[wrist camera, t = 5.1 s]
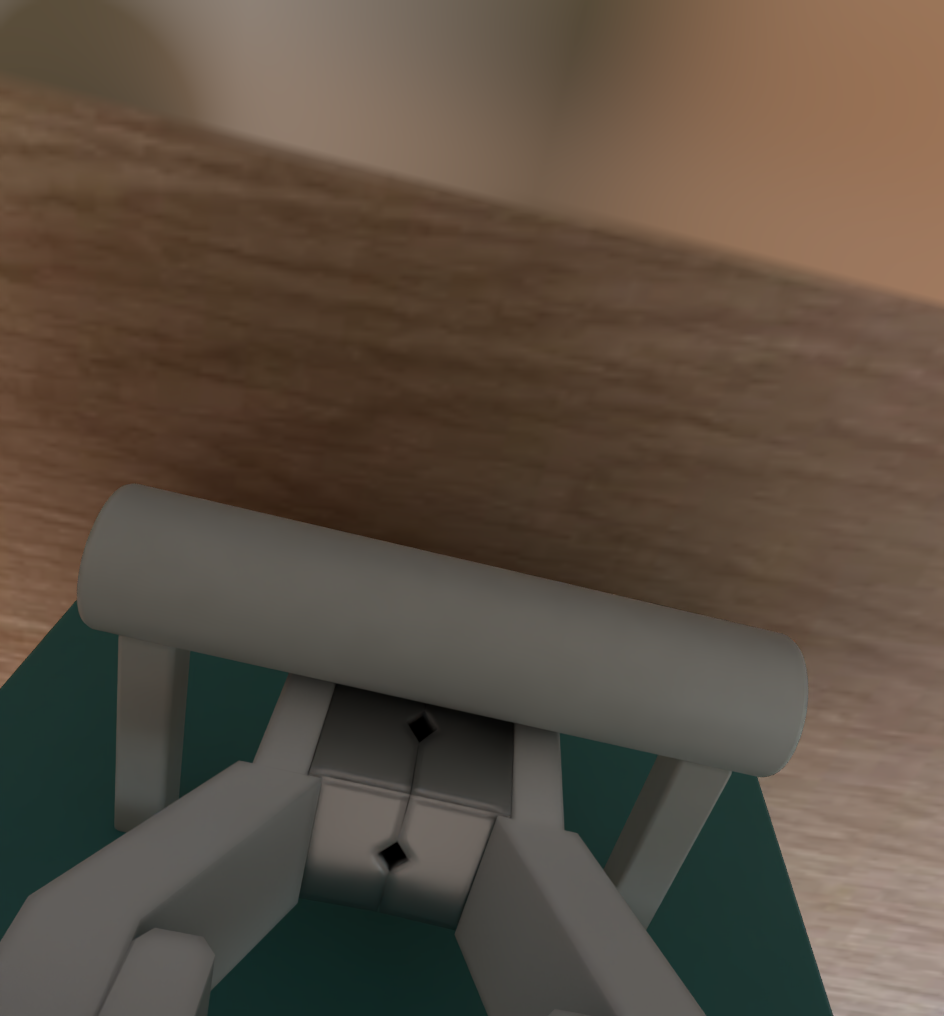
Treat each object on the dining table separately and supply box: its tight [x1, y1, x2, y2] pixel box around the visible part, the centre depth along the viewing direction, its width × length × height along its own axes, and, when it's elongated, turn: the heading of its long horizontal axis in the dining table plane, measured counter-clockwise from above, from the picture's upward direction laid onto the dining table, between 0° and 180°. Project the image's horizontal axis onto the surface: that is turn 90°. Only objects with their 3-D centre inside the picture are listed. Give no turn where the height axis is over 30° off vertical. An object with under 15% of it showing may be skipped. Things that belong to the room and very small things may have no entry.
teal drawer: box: [0, 483, 833, 1016], centre depth 13 cm, size 19×11×8 cm, turn 167°
